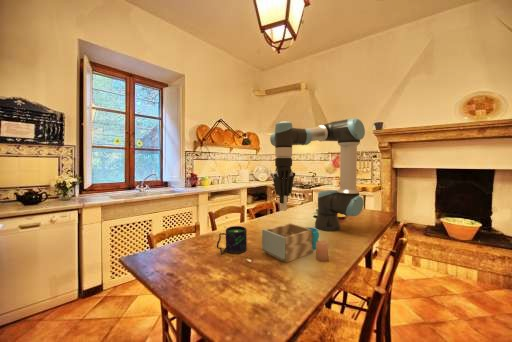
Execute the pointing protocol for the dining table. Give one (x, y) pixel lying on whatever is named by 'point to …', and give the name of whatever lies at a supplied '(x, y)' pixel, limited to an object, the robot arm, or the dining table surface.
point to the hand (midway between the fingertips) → (283, 210)
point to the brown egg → (322, 251)
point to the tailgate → (273, 244)
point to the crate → (295, 240)
